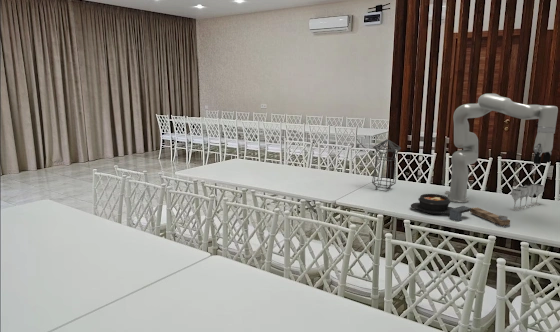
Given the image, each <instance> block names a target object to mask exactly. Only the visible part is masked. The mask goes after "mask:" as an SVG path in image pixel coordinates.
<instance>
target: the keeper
mask: <svg viewBox="0 0 560 332" xmlns="http://www.w3.org/2000/svg"><path fill="white" fill-rule="evenodd" d="M472 208H473V207H469V206H465V205H461V206H457V207H453V209H450V214H449V220H452V221H454V220H455V222H460V221H462V216H463V214H465V213H470V211H471V209H472Z"/></svg>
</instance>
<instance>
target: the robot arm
mask: <svg viewBox="0 0 560 332" xmlns="http://www.w3.org/2000/svg"><path fill="white" fill-rule="evenodd" d="M492 111H493V112H496V113H501V114H504V115H505V116H508V117H509V116H510V117H513V118H517V119H521V120H537V119H538V122H537V133H536V136H535V139H534V140H535V141H534V145H533V153H534V154H533V156H534V157H533V164H535V165H541V164H542V163H551V156H552V152H553V148H554V137H555V135H554V134H556V126H557V119H558V113H559V108H558V106H556V105H542V104H541V105H540V104H524V103H519V102H515V101H513V100H512V99H511V98H509V97H505V96H501V95H499V94H497V93H484V94H482V95H480V96H479V97H478V99H477V103H464V104H462V105H459V106H458V107H457V108H456V109H455V110H454V112H453V118H452V119H453V120H452V121H453V144H454V147H456V148H459V149H461V150H457V151H456V150H455V151H454V152H453V153H452V155H451V159H450V160H451V176H450V177H451V178H450V179H451V180H450V187H449V188H450V189H449V190H445V192H444V195H447V197H448V199H449V201H450V202H452V203H458V204H459V203H460V204H461V203H462V204H465V203H469V200H470V199H469V198H468V197H467V195H468V194H467V192H468V183H469V167H468V166H469V165H470V166H471V165H474V164H475V163H476V162H477V161H478V159H479V138H478V136H477V134H476V133H475V132H471V131H470V123H469V120H468V119H474V118H475V119H476V118H477V119H478V118H481V117H483V116H486V115H487V114H488V113H490V112H492ZM543 153H544V154H543ZM542 154H543V158H542Z"/></svg>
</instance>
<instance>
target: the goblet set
mask: <svg viewBox="0 0 560 332" xmlns="http://www.w3.org/2000/svg"><path fill="white" fill-rule="evenodd" d="M544 191H545V187H544V185H542V184H539V183H536V184H535V183H531V184H524V185H518V186H517V188H513V189H511V197H512V199H513V201H514V203H513V205H514V206H513V208H509V210H510V211H514V212H518V211H519V210H523V211H524V210H525V209H529V208H530V207H532V206H534V207H535V206H540V205H539V204H540V203H538V197H540V195H541V194H543V193H544ZM534 195H535V196H536V202H533V197H534ZM529 196H531V199H530V204H527V201H528V198H529ZM524 197H525V205H522V200H523V199H524ZM519 199H520V201H519V206H516V202H517V201H518V200H519ZM537 203H538V204H537ZM533 204H534V205H533Z"/></svg>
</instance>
